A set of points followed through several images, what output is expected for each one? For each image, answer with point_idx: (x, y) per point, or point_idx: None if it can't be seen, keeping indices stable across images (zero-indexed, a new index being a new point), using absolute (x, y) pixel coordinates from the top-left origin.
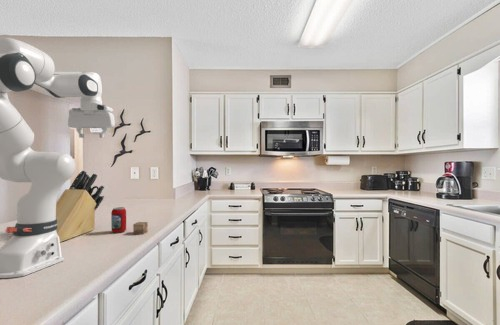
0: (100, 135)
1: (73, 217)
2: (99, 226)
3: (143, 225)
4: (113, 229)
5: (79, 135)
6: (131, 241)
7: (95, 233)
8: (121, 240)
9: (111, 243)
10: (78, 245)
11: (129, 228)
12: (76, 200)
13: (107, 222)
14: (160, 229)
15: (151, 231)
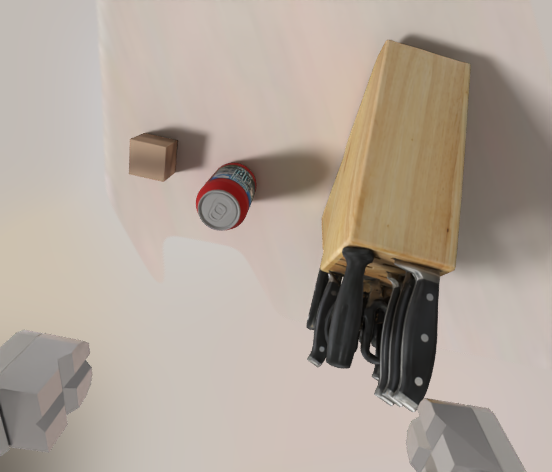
0: (41, 357)
1: (363, 132)
2: None
3: (131, 138)
4: (244, 167)
5: (494, 435)
6: (150, 41)
7: (304, 175)
8: (187, 62)
9: (206, 26)
10: (305, 19)
11: None
12: (372, 182)
13: None
14: (113, 189)
15: None
